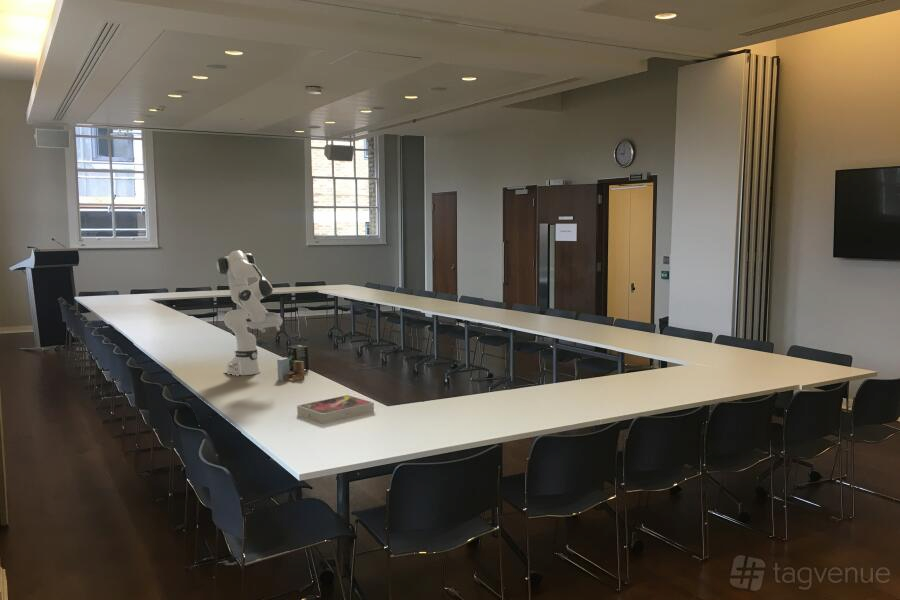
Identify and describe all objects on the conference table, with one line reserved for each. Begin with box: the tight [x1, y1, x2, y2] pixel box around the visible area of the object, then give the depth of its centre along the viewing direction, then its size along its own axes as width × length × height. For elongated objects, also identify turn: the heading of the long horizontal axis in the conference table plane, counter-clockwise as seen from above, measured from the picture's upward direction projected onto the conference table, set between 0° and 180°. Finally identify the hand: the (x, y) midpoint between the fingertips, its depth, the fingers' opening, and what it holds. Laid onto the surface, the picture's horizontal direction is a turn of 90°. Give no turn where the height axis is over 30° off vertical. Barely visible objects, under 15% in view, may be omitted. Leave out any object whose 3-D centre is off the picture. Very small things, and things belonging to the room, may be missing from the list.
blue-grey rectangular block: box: [276, 357, 291, 381], centre depth 412 cm, size 4×6×12 cm, turn 151°
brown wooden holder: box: [284, 361, 305, 382], centre depth 410 cm, size 6×9×10 cm
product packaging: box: [296, 394, 375, 425], centre depth 336 cm, size 22×28×5 cm
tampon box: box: [286, 344, 310, 372], centre depth 437 cm, size 11×9×15 cm
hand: (271, 330), depth 401 cm, fingers open, 8 cm apart
